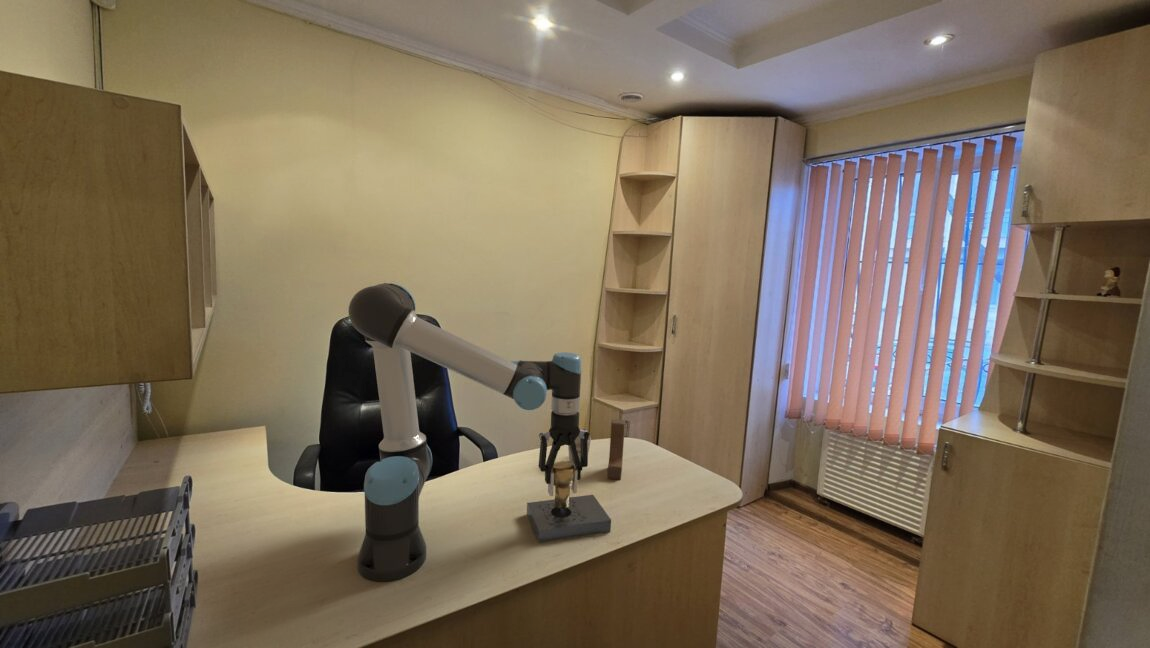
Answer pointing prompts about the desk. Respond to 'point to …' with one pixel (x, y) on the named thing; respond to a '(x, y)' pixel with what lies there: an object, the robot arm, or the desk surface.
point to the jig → (567, 519)
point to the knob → (563, 483)
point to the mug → (578, 448)
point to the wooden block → (616, 449)
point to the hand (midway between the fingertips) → (562, 492)
